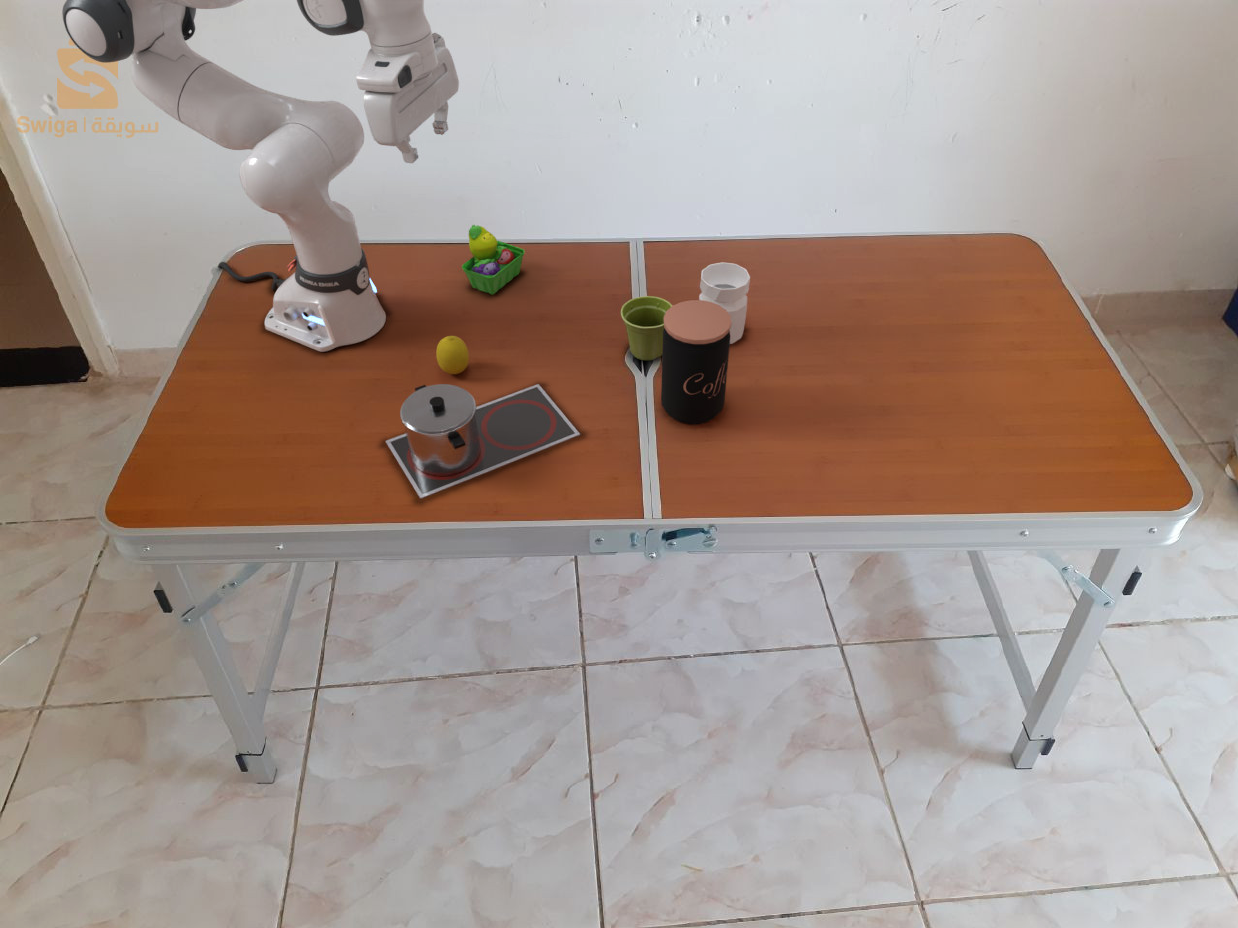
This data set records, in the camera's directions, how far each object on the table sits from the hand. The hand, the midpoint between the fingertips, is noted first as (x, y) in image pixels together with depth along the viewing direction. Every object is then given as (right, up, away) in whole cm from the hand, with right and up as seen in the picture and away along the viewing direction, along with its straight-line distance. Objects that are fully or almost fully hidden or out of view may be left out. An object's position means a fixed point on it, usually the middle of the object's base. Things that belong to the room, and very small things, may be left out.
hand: (427, 146), depth 147 cm
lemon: (+1, -33, +22) cm, 40 cm away
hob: (+7, -45, +10) cm, 46 cm away
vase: (+48, -24, +30) cm, 62 cm away
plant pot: (+35, -28, +26) cm, 52 cm away
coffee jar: (+42, -39, +15) cm, 59 cm away
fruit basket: (+5, -12, +43) cm, 45 cm away
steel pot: (+2, -47, +7) cm, 47 cm away
